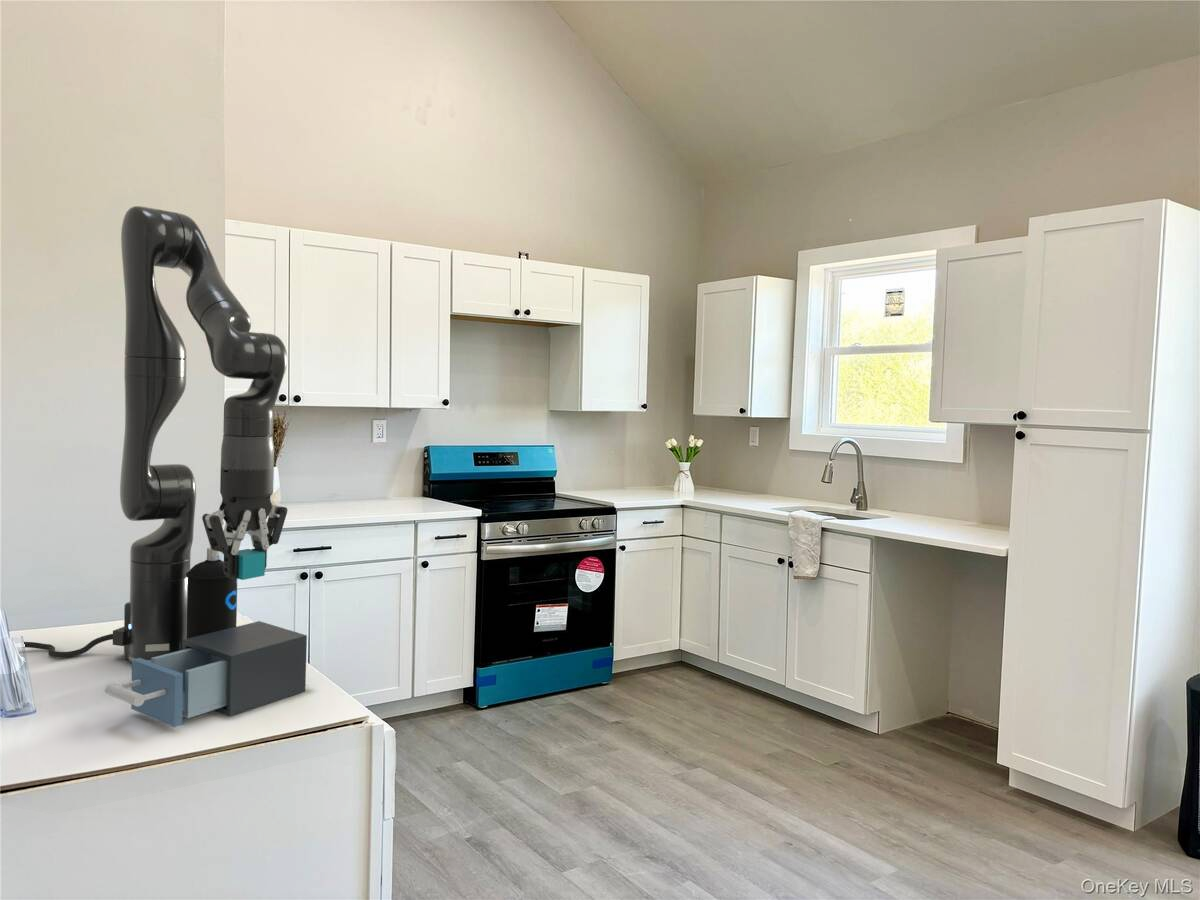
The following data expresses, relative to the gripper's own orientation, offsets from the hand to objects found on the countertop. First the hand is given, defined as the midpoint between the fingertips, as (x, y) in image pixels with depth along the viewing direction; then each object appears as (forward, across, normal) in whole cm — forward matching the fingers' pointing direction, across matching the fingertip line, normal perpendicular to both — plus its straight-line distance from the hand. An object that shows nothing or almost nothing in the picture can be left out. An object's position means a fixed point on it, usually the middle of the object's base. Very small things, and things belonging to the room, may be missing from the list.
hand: (244, 575), depth 137 cm
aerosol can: (+19, -6, -16) cm, 25 cm away
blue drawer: (+18, +11, 0) cm, 21 cm away
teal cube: (0, 0, 0) cm, 0 cm away
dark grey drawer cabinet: (+19, 0, 0) cm, 19 cm away
